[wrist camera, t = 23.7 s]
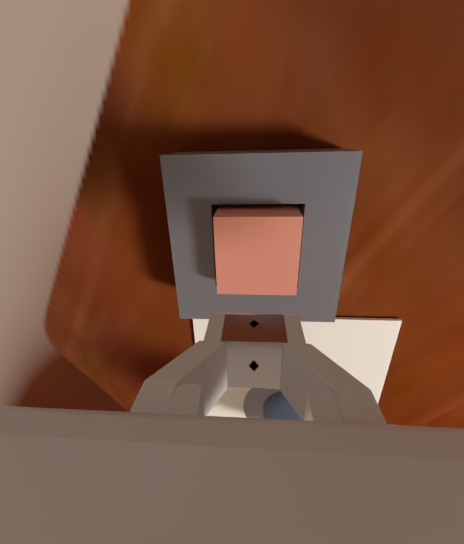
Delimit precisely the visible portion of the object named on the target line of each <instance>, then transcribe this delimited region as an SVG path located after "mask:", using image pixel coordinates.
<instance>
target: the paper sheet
mask: <svg viewBox="0 0 464 544" xmlns="http://www.w3.org/2000/svg"><path fill="white" fill-rule="evenodd" d="M208 322H209V319H193V327H194V337H195V343H197V342H198V341H203V340H204V337H205V333H206V329H207V325H208ZM300 322H301V326H302V330H303V333H304V337H305V341H306V344H312V345H313V346H314V347H316V348H317V349H318V350H319V351H321V352H322V353H323V354H325V355H326V356H327V357H329V358H330V359H331V360H332V361H334V362H335V363H336V364H338V365H339V366H340V367H342V368H343V369H344V370H346V371H347V372H348V373H349V374H351V375H352V376H353V377H355V378H356V379H357V380H359V381H360V382H361V383H363V384H364V385H365V386H366V387H368V388H369V389H370V390H371V391H372V393H373V395H374V398H375V400H376V402H377V404H378V402H379V398H380V395H381V391H382V388H383V385H384V381H385V378H386V374H387V371H388V367H389V364H390V361H391V357H392V354H393V350H394V347H395V343H396V340H397V336H398V333H399V330H400V326H401V323H402V320H401V319H398V318H355V317H335V322H302V321H300ZM227 388H228V389H227V390H226V391H225V393H224V394H223V395H222V396H221V398H220V399H219V400H218V401H217V403H216V404H215V405H214V406H213V408H212V409H211V410H210V412H209V413H208V414H207V415H206V416H221V417H242V418H263V404H264V401H265V400H266V399H267V398H268V397H269V396H270V395H272V394H274V393H277V392H280V389H266V388H243V387H227Z"/></svg>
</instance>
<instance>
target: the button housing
mask: <svg viewBox="0 0 464 544" xmlns="http://www.w3.org/2000/svg"><path fill="white" fill-rule="evenodd" d="M362 153H363V151H360V150H352V149H344V148H332V149H288V150H244V151H199V152H174V153H169V154H164V155H159V156H160V164H161V171H162V179H163V187H164V195H165V203H166V211H167V219H168V227H169V235H170V243H171V251H172V259H173V267H174V275H175V283H176V291H177V299H178V307H179V314H180V319H209V318H210V314H211V313H243V314H298V315H299V318H300V321H302V322H335V317H336V311H337V305H338V299H339V293H340V287H341V281H342V275H343V269H344V263H345V257H346V250H347V244H348V238H349V232H350V226H351V220H352V214H353V208H354V202H355V196H356V190H357V184H358V178H359V172H360V165H361V159H362ZM220 204H296V205H297V207H298V209H299V210H300V212H301V214H302V215H303V226H302V238H301V249H300V260H299V272H298V283H297V294H296V295H244V294H217V281H216V263H215V244H214V226H213V216H214V214H215V212H216V210H217V209H218V207H219V205H220Z"/></svg>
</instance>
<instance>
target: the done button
mask: <svg viewBox="0 0 464 544" xmlns="http://www.w3.org/2000/svg"><path fill="white" fill-rule="evenodd" d="M213 226H214V244H215V263H216V281H217V294H244V295H296V294H297V283H298V272H299V260H300V249H301V238H302V226H303V215H302V214H301V212H300V210H299V209H298V207H297V205H296V204H220V205H219V207H218V209H217V210H216V212H215V214H214V216H213Z"/></svg>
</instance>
